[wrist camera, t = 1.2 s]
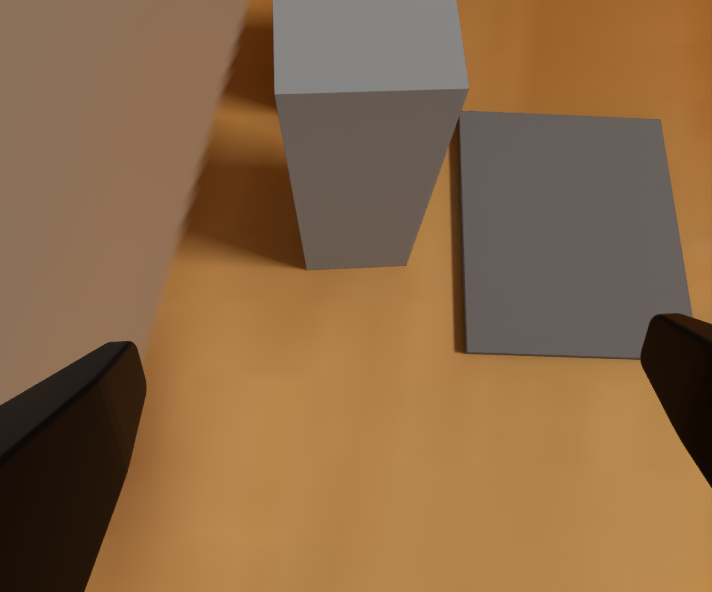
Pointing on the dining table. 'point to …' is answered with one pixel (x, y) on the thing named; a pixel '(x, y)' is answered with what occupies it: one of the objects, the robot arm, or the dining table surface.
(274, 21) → the slate block
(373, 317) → the dining table surface
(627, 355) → the coaster
